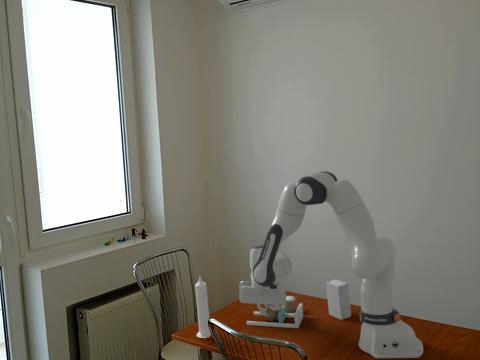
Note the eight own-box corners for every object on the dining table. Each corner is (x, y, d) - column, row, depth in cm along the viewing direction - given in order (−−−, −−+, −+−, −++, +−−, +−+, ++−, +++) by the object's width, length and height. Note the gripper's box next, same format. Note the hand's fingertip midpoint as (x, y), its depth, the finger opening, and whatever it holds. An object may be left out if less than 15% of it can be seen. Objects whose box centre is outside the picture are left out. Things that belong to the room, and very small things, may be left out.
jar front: (278, 318, 206) (281, 306, 205) (275, 323, 201) (278, 310, 200) (267, 313, 208) (270, 301, 206) (263, 318, 203) (267, 306, 201)
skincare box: (351, 316, 202) (349, 283, 200) (340, 320, 199) (338, 286, 197) (338, 310, 209) (336, 278, 207) (327, 314, 206) (325, 281, 204)
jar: (296, 308, 215) (295, 296, 214) (295, 313, 210) (294, 300, 209) (284, 308, 216) (284, 295, 215) (283, 313, 211) (282, 300, 210)
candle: (203, 330, 200) (197, 272, 197) (217, 333, 196) (212, 274, 193) (193, 337, 194) (187, 278, 191) (207, 340, 190) (202, 280, 187)
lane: (303, 316, 206) (302, 303, 205) (298, 328, 195) (297, 314, 194) (254, 313, 213) (253, 301, 212) (246, 324, 202) (245, 311, 201)
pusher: (290, 317, 206) (289, 305, 205) (286, 324, 198) (285, 312, 198) (283, 316, 207) (282, 305, 206) (278, 324, 199) (278, 312, 199)
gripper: (236, 283, 204) (238, 314, 205) (282, 285, 197) (284, 317, 199) (240, 278, 210) (242, 308, 211) (286, 280, 203) (287, 311, 205)
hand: (263, 313), depth 205 cm, fingers closed
